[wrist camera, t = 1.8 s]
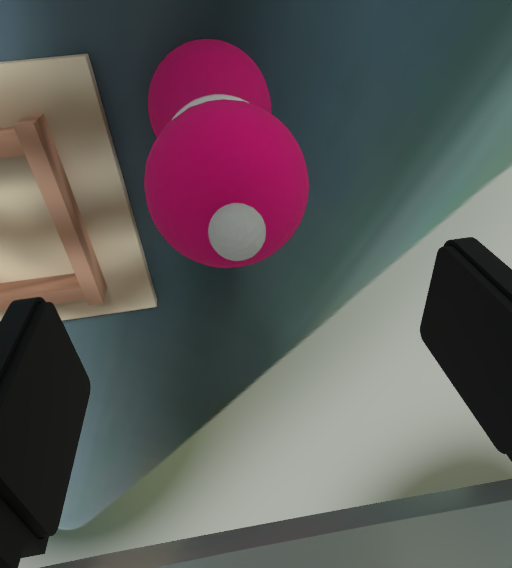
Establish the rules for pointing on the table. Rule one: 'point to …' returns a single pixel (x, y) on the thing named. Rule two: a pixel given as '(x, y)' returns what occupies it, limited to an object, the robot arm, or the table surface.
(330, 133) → the table surface
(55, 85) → the board
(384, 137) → the table surface
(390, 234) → the table surface
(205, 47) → the pepper mill
